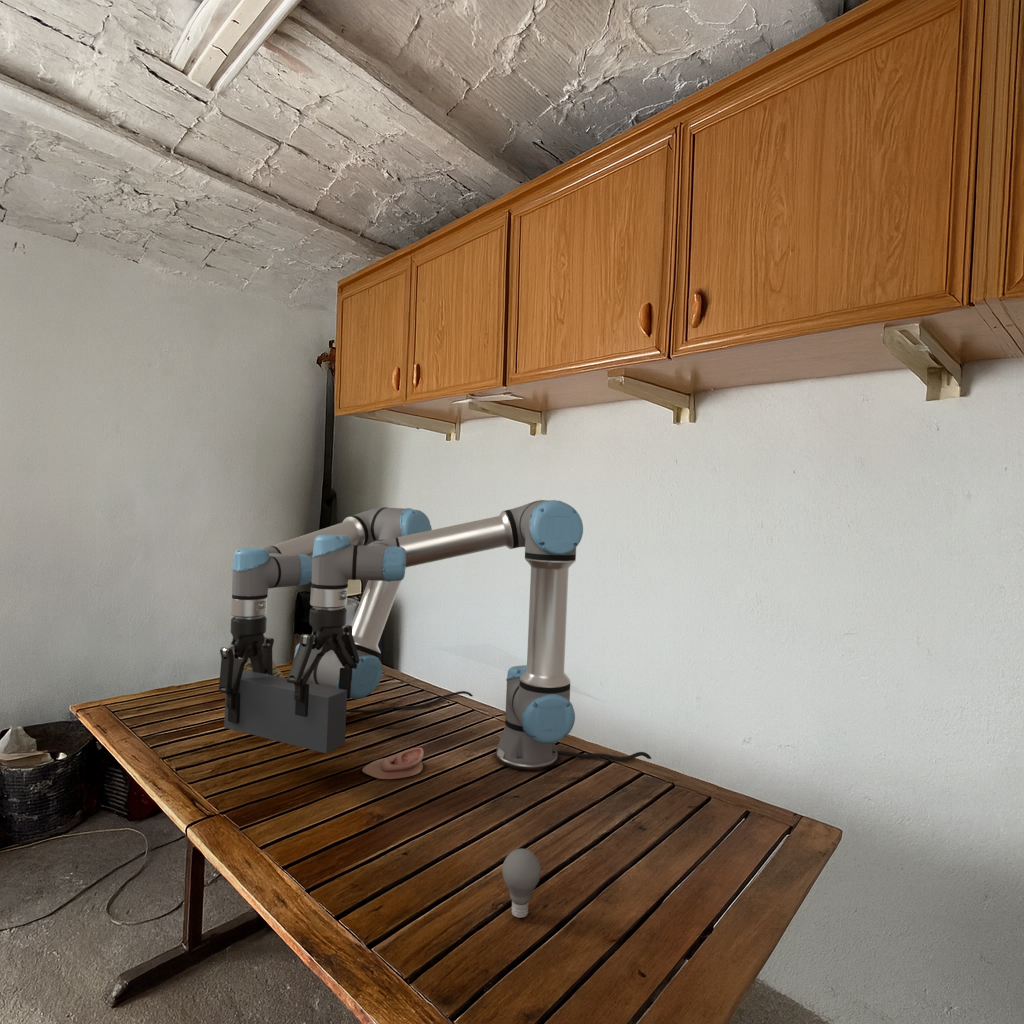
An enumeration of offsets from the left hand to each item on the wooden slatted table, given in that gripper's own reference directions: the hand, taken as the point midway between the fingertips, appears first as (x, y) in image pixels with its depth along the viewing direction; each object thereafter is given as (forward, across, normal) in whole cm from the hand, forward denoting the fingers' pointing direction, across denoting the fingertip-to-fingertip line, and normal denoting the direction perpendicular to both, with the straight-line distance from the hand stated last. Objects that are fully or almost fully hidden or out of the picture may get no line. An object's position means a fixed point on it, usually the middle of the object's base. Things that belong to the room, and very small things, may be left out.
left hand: (245, 717), depth 144 cm
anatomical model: (+12, +17, -29) cm, 36 cm away
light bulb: (+12, -17, -76) cm, 79 cm away
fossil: (+12, +41, +39) cm, 58 cm away
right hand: (-6, 0, -22) cm, 23 cm away
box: (+2, 0, -11) cm, 11 cm away
